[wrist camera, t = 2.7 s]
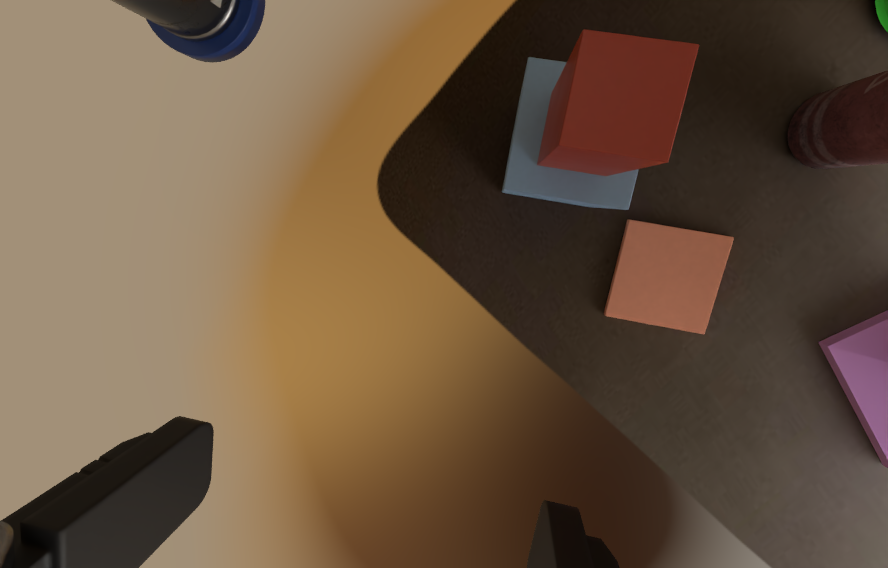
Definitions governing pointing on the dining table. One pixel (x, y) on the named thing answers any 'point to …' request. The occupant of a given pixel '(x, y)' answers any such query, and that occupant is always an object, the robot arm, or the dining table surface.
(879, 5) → the green plate with lemons
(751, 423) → the dining table surface
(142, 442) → the robot arm
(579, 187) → the blue stand
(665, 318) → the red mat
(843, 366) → the vase
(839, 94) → the brown drink cup
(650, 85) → the red post
